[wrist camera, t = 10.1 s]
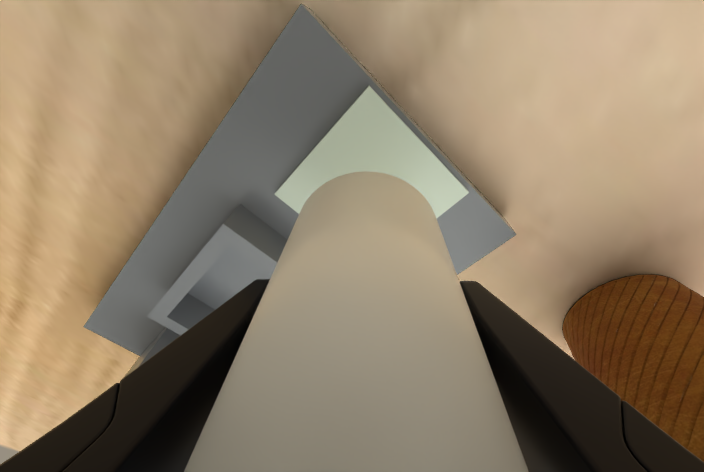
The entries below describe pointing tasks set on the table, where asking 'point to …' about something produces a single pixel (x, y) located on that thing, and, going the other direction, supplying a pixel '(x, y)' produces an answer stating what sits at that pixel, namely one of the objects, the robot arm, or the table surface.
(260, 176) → the housing
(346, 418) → the cartridge
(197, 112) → the table surface
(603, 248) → the table surface
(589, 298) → the disposable coffee cup
